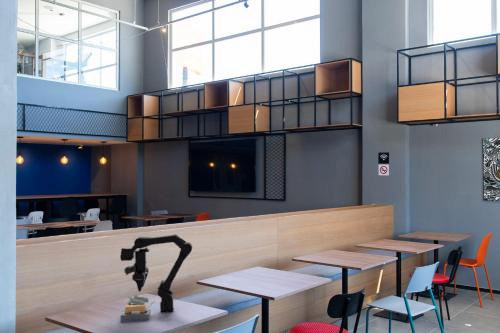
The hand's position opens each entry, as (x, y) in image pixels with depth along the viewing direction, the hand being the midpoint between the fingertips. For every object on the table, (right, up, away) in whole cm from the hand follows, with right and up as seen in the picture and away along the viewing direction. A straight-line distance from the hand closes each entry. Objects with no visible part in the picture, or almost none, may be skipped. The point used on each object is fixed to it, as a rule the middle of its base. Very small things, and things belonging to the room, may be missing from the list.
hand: (140, 289), depth 258 cm
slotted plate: (0, -12, -12) cm, 17 cm away
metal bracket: (-3, -13, +13) cm, 18 cm away
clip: (0, -12, -12) cm, 17 cm away
